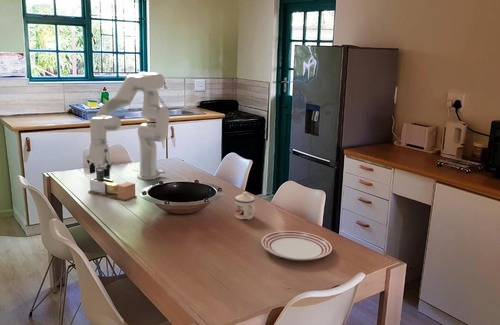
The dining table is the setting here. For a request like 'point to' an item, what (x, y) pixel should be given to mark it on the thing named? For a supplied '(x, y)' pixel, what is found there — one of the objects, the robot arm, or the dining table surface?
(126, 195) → the socket block
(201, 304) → the dining table surface
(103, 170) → the food container
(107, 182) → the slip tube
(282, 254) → the dinner plate
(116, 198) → the base board
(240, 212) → the teacup with lid
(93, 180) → the white rectangular block
